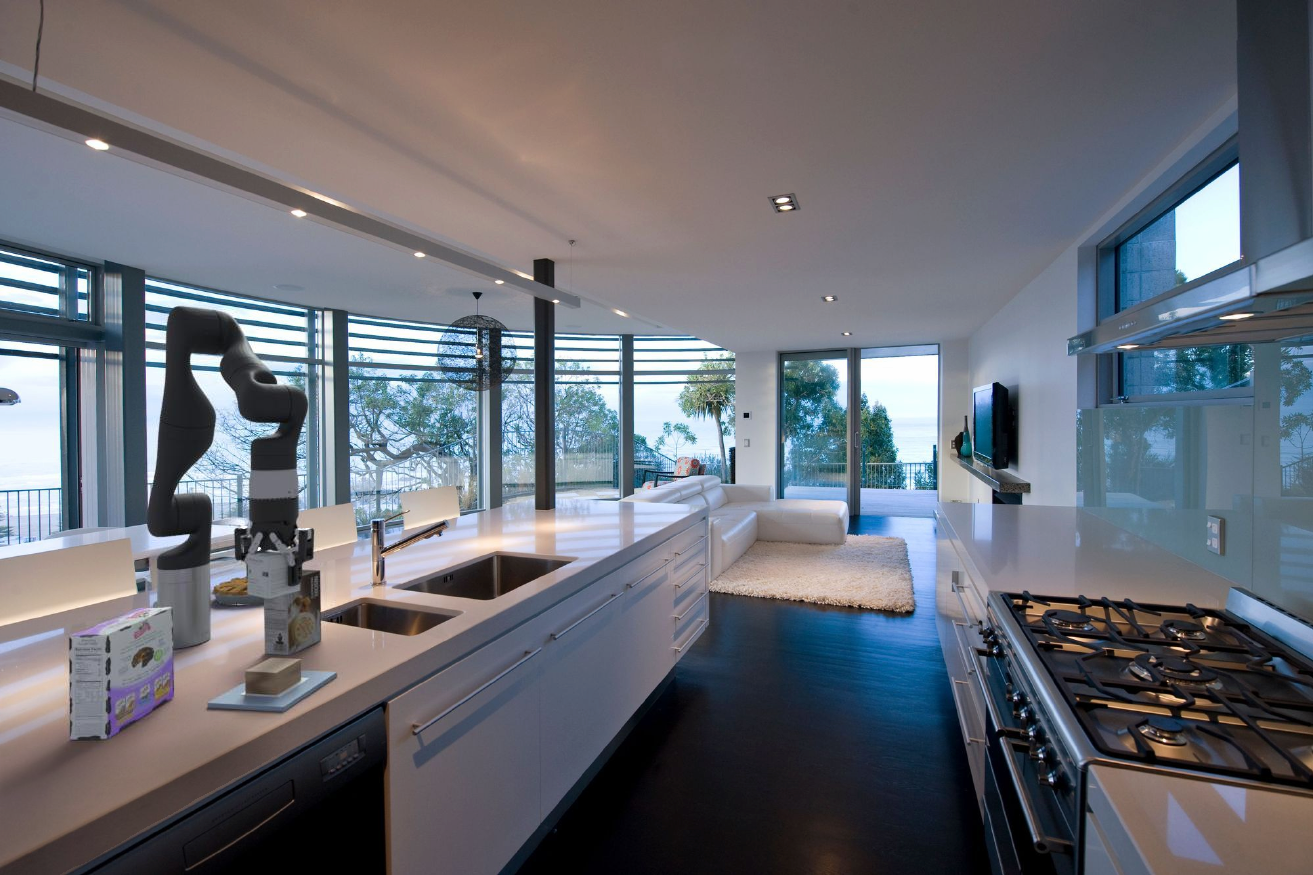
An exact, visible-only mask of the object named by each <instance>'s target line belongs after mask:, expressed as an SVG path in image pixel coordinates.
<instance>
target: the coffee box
mask: <svg viewBox="0 0 1313 875" xmlns="http://www.w3.org/2000/svg"><path fill="white" fill-rule="evenodd" d="M321 588H322V587H321V570H317V569H316V570H315V569H302V581H301V582H300V591H297V592H293V593H289V594H285V595H281V596H277V597H273V598H269V599H266V598H264V604H263V618H264V619H263V620H264V621H263V622H264V623H263V624H264V627H263V628H264V654H267V655H268V654H270V655H279V656H280V655H281V656H290V655H293V654H295V653H297V652H299V651H301V650H303V649H305V648H307V647H310V646H311V645H314V644H316V643H318V642H320V641H322V603H321V600H322V599H321V598H322V597H321V596H322V595H321V591H322V590H321Z"/></svg>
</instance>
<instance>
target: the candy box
mask: <svg viewBox="0 0 1313 875" xmlns="http://www.w3.org/2000/svg"><path fill="white" fill-rule="evenodd" d="M68 651H69V652H68V654H69V655H68V656H69V657H68V663H69V665H68V666H69V669H68V670H69V672H68V673H69V674H68V675H69V676H68V677H69V680H68V681H69V684H68V685H69V740H70V741H71V740H72V741H73V740H78V741H81V740H82V741H83V740H108V739H110V738H111V737H113V736H115V735H117V734H118V733H120V732H121V731H122V730H124V729H125V728H128V727H130V726H131V725H132V724H133V723H135V722H137V721H138V720H140V719H142V718H143V717H145V716H146V715H148V714H150V712H153V711H154V710H156V709H158V708H159V707H160V706H162V705H164V704H165V703H167V702H168V701H170V700H171V699H173V698H174V697H175V675H174V674H175V672H174V671H175V670H174V669H175V667H174V649H173V611H172V607H156V608H153V607H139V608H137V609H134V610H131V611H129V612H126V613H124V614H122V615H119V616H116V617H114V618H111V619H108V620H107V621H103V622H101V623H99V624H96V625H94V626H91V627H88V628H85V629H83V630H81V631H78V632H76V633H73V634H70V635H69V636H68Z"/></svg>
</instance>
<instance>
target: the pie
mask: <svg viewBox="0 0 1313 875" xmlns="http://www.w3.org/2000/svg"><path fill="white" fill-rule="evenodd" d="M247 588H248V581H247V575H246V576H244V577H234V578H232V579H230V580H229V581H223V582H220V583H219V584H218V585H217V584H216V585H215V586H213V590H212V592H211V595H214V597H215V598H216V600H217V602H218V601H219V602H221V603H220V604H222V603H224V604H223V605H225V604H236V605H235V606H238V605H237V604H255V605H261V604H260V603H264V598H262V597H258V596H254V595H249V594H248V593H247ZM219 602H218V603H219Z"/></svg>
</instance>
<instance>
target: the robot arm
mask: <svg viewBox="0 0 1313 875" xmlns="http://www.w3.org/2000/svg"><path fill="white" fill-rule="evenodd" d="M167 316H168V317H167V320H166V329H165V372H164V373H165V374H164V386H163V394H162V402H161V408H160V409H161V410H160V414H159V423H158V432H157V446H156V448H157V450H156V461H155V470H154V475H153V480H152V485H151V491H150V495H149V499H148V505H147V511H146V526H147V530H148V532H149V534H150V535H151V536H152V537H155V538H169V537H176V536H177V537H178V536H186V535H188V537H187V539H186V540H185V541H184V542H182V543H181V544H180V545H177V546H175V547H174V548H171V549H169V550H166V551H163V552H162V553H161V554H159V555H158V556H157V558H156V597H157V598H156V600H155V601H154V602H153V604H152V608H156V607H172V611H173V650H175V649H183V648H188V647H192V646H196V645H199V644H203V643H205V642H207V641H208V640H210V639H211V636H212V634H211V633H212V631H211V629H212V628H211V622H212V621H211V619H212V618H211V617H212V616H211V614H212V612H211V607H212V604H211V595H212V592H211V551H212V530H213V529H212V528H213V527H212V526H213V504H212V499H211V497H210V496H209V495H208V494H207V493H206V492H186V493H175V492H176V490H177V488H178V485H179V483H180V482H181V480H182V478H183V477H184V476H185V474H186V473H187V472H188V471H189V470H190V469H191V468H192V467H194V465H195V464H196V463H198V462H199V461H200V460H201V459H202V457H203V456H205V454H206V453H207V452H208V450H210V448H211V446H212V444H213V442H214V437H215V432H216V431H215V430H216V422H217V413H216V410H215V407H214V406H213V404H212V403H211V401H210V399H209V397H208V396H207V395H206V394H205V393H204V391H203V390H202V388H201V387H200V385H199V384H198V382H197V380H196V378H195V376H194V374H193V371H192V367H191V366H192V365H191V356H192V354H199V355H201V354H202V355H203V354H204V355H214V356H215V355H223V356H222V358H221V359H220V361H219V372H220V375H221V377H222V379H223V381H225V383H226V384H227V385H228V387H229V388H230V389H231V390H232V391H233V392H234V394H235V397H236V401H237V409H238V412H239V414H240V416H241V417H242V418H244V419H245V420H246V421H249V422H252V423H255V424H256V423H257V424H279V425H278V428H277V429H276V431H275V432H274V433H272V434H269V435H265V436H259V437H256V438H254V439H253V440H252V441H251V443H250V473H249V474H250V475H249V479H248V480H249V481H248V520H249V521H250V522H251V525H245V526H244V525H243V526H239V527H235V529H234V531H233V532H234V533H233V534H234V537H233V538H234V539H233V540H234V558H235V560H236V561H237V562H239V561H241V562H244V564H245V565H246V576H247V581H248V555H249V554H256V553H260V552H265V551H271V550H273V551H279V552H280V554H281V555H282V556H284V557H285V558H286V560H287V562H288V563H289V565H290V566H288V586H291V587H293V586H296V585H299V584H300V582H301V581H302V570H303V564H304V563H306V562H309V561H312V560H313V559H314V555H315V554H314V550H315V546H314V545H315V529H314V528H313V527H308V528H299V527H298V524H297V521H298V518H299V516H300V515H299V508H300V506H299V503H300V502H299V497H300V495H299V493H300V492H299V483H300V482H299V475H298V469H297V468H298V456H297V455H298V444H299V440H300V437H301V433H302V429H303V427H304V423H305V420H306V418H307V414H308V409H309V401H308V400H309V399H308V397H307V394H306V393H305V392H304V390H303V389H302V388H301V387H298V386H296V385H291V384H289V385H288V384H278V379H277V377H276V376H275V374H274V373H273V372H272V371H271V369H269V367H268V366H267V365H266V364H264V363H263V361H262V360H261V359H260V358H259V357H258V356H257V355H256V354H255V352H254V350H253V348H252V346H251V344H250V342H249V340H248V339H247V337H246V334H245V333H244V331H243V330H242V328H241V326H240V324H239V323H238V321H237V320H236V319H235V318H234V317H233V315H231V314H230V313H228V312H226V311H222V310H217V309H209V308H202V307H194V306H193V307H192V306H185V305H177V306H174V307H173V308H171V310H170V312H169V314H168V315H167ZM252 539H253V541H252ZM297 540H298V541H297ZM289 547H290V548H289ZM292 553H295V558H294V556H293V554H292Z"/></svg>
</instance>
